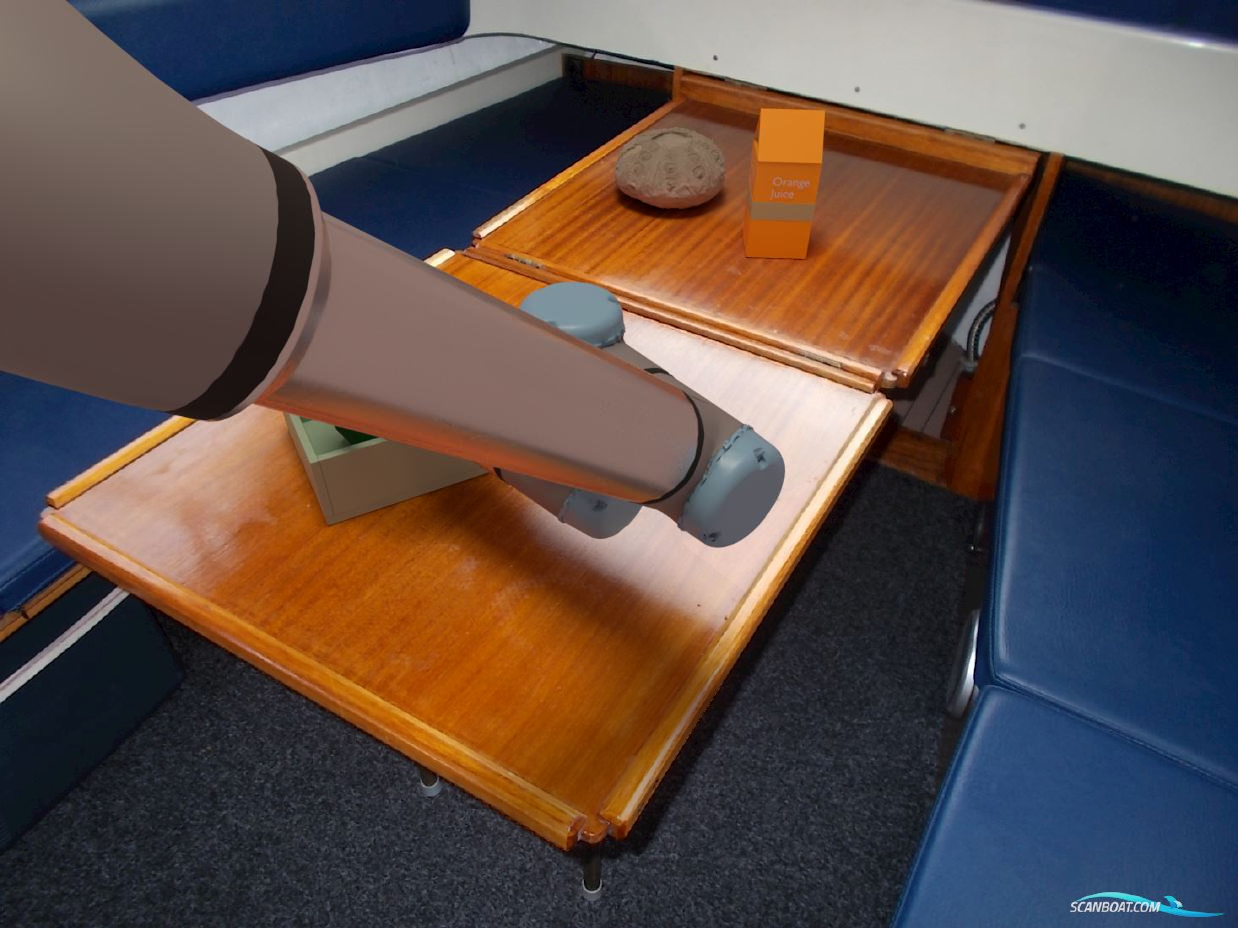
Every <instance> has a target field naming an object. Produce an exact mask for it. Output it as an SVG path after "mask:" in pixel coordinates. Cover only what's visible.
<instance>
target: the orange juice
mask: <svg viewBox="0 0 1238 928" xmlns="http://www.w3.org/2000/svg"><path fill="white" fill-rule="evenodd" d="M825 117H826V110H824V109H796V108H795V109H792V108H791V109H790V108H789V109H788V108H762V107H761V108H760V111H759V117H758V120H757V125H756V129H755V133H754V138H753V140H752V141H753V142H752V149H751V159H750V166H749V175H748V180H747V189H746V202H745V209H744V218H743V227H742V234H743V235H742V239H743V238H744V242H743V247H744V246H745V249H744V255H745V254H746V256H748V257H771V258H773V257H775V258H778V257H779V258H802V259H804V258H806V259H807V253H808V247H809V242H810V236H811V230H812V225H813V222H814V215H815V210H816V202H817V197H818V196H817V195H818V190H819V184H820V179H821V173H822V166H823V153H824V152H823V150H824V137H825V136H824V135H825V134H824V133H825V119H826V118H825ZM746 256H745V257H746Z"/></svg>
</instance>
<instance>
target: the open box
mask: <svg viewBox="0 0 1238 928" xmlns="http://www.w3.org/2000/svg"><path fill="white" fill-rule="evenodd" d="M282 414H283V417H284V420H285V423H286V428H287V430H288V433H289V435H290V437H291V440H292V443H293V445H294V447H295V450H296V452H297V454H298V457H299V460H300V462H301V464H302V467H303V469H304V471H305V474H306V476H307V479H308V481H309V484H310V486H311V488H312V491H313V492H314V495H315V497H316V500H317V502H318V503H317V504H318V505H319V507H320V508H319V509H320V510H321V512H322V514H323V517H324V519H325V522H326V524H327V526H328V527H329V526H332V525H335V524H338V523H341V522H344V521H347V520H350V519H353V518H356V517H359V516H362V515H365V514H368V513H371V512H374V511H377V510H380V509H383V508H386V507H390V506H392V505H395V504H399V503H401V502H404V501H408V500H411V499H414V498H416V497H419V496H423V495H426V494H428V493H431V492H434V491H437V490H440V489H443V488H446V487H450V486H452V485H455V484H458V483H462V482H465V481H467V480H470V479H474V478H477V477H479V476H483V475H486V474H488V473H489V472H488V471H487V470H485V469H484V468H482V467H481V466H479V465H478V464H476V463H474V462H473V461H470V460H466V459H462V458H458V457H454V456H450V455H447V454H443V453H439V452H435V451H431V450H427V449H423V448H420V447H416V446H412V445H408V444H404V443H400V442H396V441H393V440H385V439H384V438H381V437H379V438H375V439H372V440H369V441H365V442H362V443H359V444H355V445H351V444H350V443H349V442H348V441H347V440H346V439H345V438H344V437H343V436H342V435H341V434H340V433H339V432H338V431H337V430H336V429H335V426H334V425H331V424H327V423H323V422H319V421H315V420H312V419H308V418H304V417H300V416H296V415H292V414H288V413H285V412H282Z"/></svg>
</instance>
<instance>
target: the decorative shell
mask: <svg viewBox="0 0 1238 928" xmlns="http://www.w3.org/2000/svg"><path fill="white" fill-rule="evenodd" d="M723 153H724V150H722V149H720V148H719V147H718V145H717V144H716V143H715V141H714V139H710V138H708V137H707V136H706V135H703V134H701V133H699V132H698V133H697V132H696V131H695V130H691V129H689V128H685V127H677V126H674V127H669V128H666V127H665V128H659V129H658V128H657V129H656V128H652V129H651V130H647V131H644V132H642V133H639V134H637V135H634V136H633V138H631V139H630V140H629V141H628V142H627V143H626V144H623V145H622V148H621V149H620V152H619V153H618V156H617V159H616V162H615V165H614V169H613V172H614V176H615V182H616V185H617V187H618V189H619V190H620V191H621V192H622V193H623V194H625V195H627V196H629V197H630V198H633V199H636V200H638V201H640V202H642V203H644V204H648V205H650V206H652V207H653V206H654V207H656V208H661V209H664V208H665V209H664V210H671V209H670V208H675V209H676V208H678V209H677V210H684V209H688V208H692V207H698V206H700V205H702V204H704V203H708V202H709V201H711V200H712V199H713V198H715V196H716V195H717V194H719V192H720V191H721V189H722V187H723V186H724V183H725V181H726V175H727V172H726V169H727V167H726V158H725V157H724V155H723Z"/></svg>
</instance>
